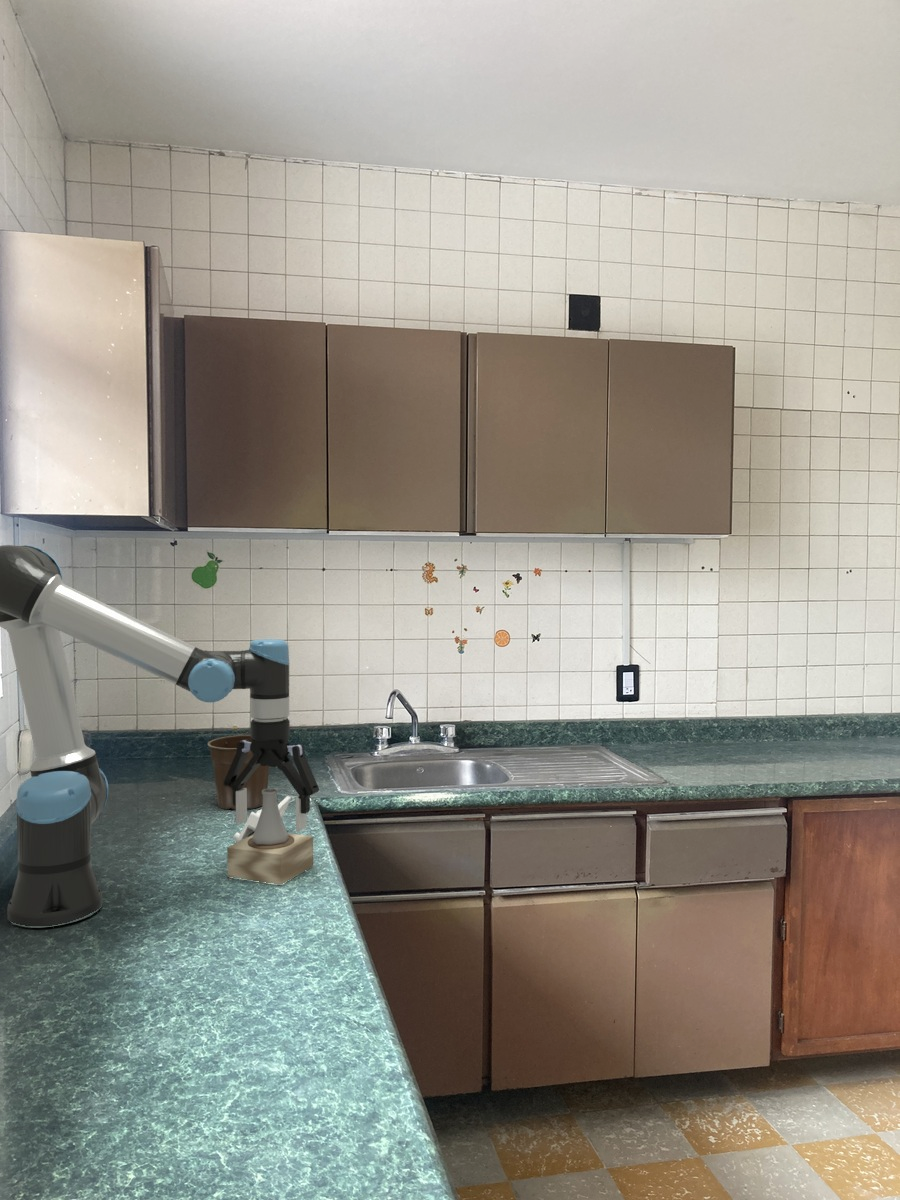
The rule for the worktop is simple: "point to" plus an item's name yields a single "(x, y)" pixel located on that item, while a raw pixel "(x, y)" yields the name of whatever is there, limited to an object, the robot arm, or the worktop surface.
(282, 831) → the flask
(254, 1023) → the worktop surface
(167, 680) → the robot arm
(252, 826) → the mounting bracket
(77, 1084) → the worktop surface
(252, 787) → the plant pot
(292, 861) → the wooden stand
